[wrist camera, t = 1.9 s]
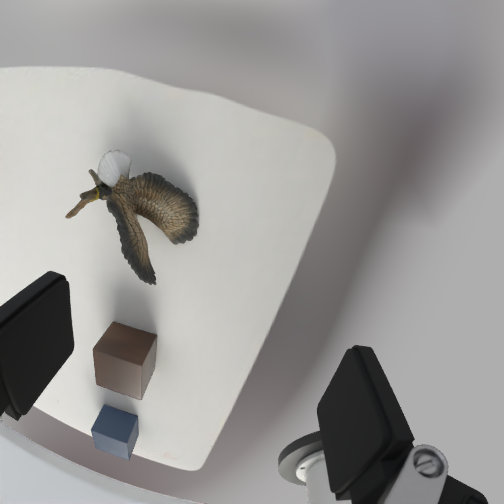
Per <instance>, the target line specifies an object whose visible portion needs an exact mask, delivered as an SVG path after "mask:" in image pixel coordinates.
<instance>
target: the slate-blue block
mask: <svg viewBox="0 0 504 504" xmlns="http://www.w3.org/2000/svg"><path fill="white" fill-rule="evenodd" d="M91 432H92V436H93V439H94V443H95V447H96V448H97V449H99V450H102V451H104V452H107V453H110V454H112V455H115V456H118V457H121V458H123V459H126V460H130V457H131V454H132V451H133V449H134V446H135V443H136V440H137V438H138V416H136V415H133V414H130V413H127V412H124V411H121V410H118V409H115V408H113V407H110V406H107V405H105V404H104V405H103V407H102V409H101V411H100V413H99V415H98V417H97V419H96V421H95V423H94V425H93V427H92V429H91Z"/></svg>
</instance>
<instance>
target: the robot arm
mask: <svg viewBox="0 0 504 504" xmlns="http://www.w3.org/2000/svg"><path fill="white" fill-rule="evenodd" d="M73 350H74V337H73V328H72V318H71V305H70V288H69V282H68V281H66V278H65V276H64V275H62V274H59V273H56V272H53V271H49V272H47V273H45V274H44V275H43V276H41V277H40V278H38V279H37V280H35V281H34V282H33V283H31V284H30V285H28V286H27V287H26V288H24V289H23V290H22V291H20V292H19V293H18V294H16V295H15V296H14V297H12V298H11V299H10V300H8V301H7V302H6V303H4V304H3V305H2V306H0V504H205V503H199V502H194V501H189V500H185V499H180V498H176V497H172V496H168V495H164V494H160V493H156V492H152V491H149V490H146V489H142V488H139V487H136V486H133V485H130V484H126V483H124V482H121V481H118V480H115V479H113V478H110V477H107V476H105V475H102V474H100V473H97V472H95V471H92V470H90V469H88V468H85V467H83V466H81V465H79V464H76V463H74V462H72V461H70V460H67V459H66V458H64V457H62V456H59V455H57V454H56V453H54V452H51V451H50V450H48V449H46V448H44V447H42V446H40V445H39V444H37V443H35V442H33V441H32V440H30V439H28V438H27V437H25V436H23V435H22V434H20V433H18V432H17V431H15V430H14V429H12V428H10V427H9V426H7V425H6V424H4V423H3V422H2V414H3V413H4V411H5V413H6V414H7V415H9V416H11V417H12V418H14V419H15V420H17V421H18V420H19V418H20V417H21V416H22V415H26V414H27V413H28V411H29V410H30V409H31V407H32V406H33V404H34V403H35V402H36V400H37V399H38V397H39V396H40V395H41V393H42V392H43V391H44V389H45V388H46V386H47V385H48V384H49V382H50V381H51V380H52V378H53V377H54V376H55V375H56V373H57V372H58V371H59V369H60V368H61V367H62V365H63V364H64V363H65V362H66V360H67V359H68V358H69V356H70V355H71V354H72V352H73ZM317 416H318V421H319V427H320V433H321V438H322V444H323V450H321V451H318V452H315V453H313V454H311V455H309V456H307V457H305V458H304V459H303V460H301V461H300V462H299V463H298V464H297V466H296V476H297V477H298V478H299V479H300V480H302V481H304V482H306V486H307V496H308V504H488V502H487V499H486V498H485V497H484V495H483V494H482V493H480V492H479V491H477V490H475V489H473V488H471V487H469V486H467V485H466V484H464V483H462V482H460V481H458V480H456V479H454V478H453V477H451V476H449V475H447V473H448V462H447V460H446V458H445V456H444V455H443V453H442V452H441V451H440V450H438V449H436V448H435V447H433V446H430V445H423V444H422V445H417V446H416V447H414V446H413V443H412V442H413V441H414V440H415V439H414V437H413V434H412V432H411V430H410V428H409V425H408V423H407V421H406V418H405V416H404V414H403V412H402V410H401V407H400V405H399V403H398V401H397V399H396V396H395V394H394V392H393V390H392V388H391V386H390V384H389V382H388V380H387V377H386V375H385V374H384V371H383V369H382V367H381V365H380V363H379V361H378V359H377V357H376V355H375V353H374V351H373V349H372V348H371V347H366V346H359V345H355V346H353V347H352V349H348V350H347V351H346V353H345V355H344V357H343V359H342V361H341V363H340V365H339V367H338V368H337V371H336V372H335V374H334V376H333V378H332V380H331V382H330V384H329V386H328V387H327V389H326V391H325V393H324V395H323V396H322V398H321V400H320V402H319V404H318V407H317Z"/></svg>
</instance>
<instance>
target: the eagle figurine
mask: <svg viewBox="0 0 504 504" xmlns="http://www.w3.org/2000/svg"><path fill="white" fill-rule="evenodd" d="M130 165H131V158H130V156H128V155H127V154H125V153H122V152H120V151H119V150H115V151H109V152H108V153H106V154H104V156H103V157H102V159H101V161H100V163H99V166H98V175H97V174H96V173H95V172H94V171H93V170H92V169H90V170H89V173H90V174H91V175H92V177H93V179H94V181H95V185H97V186H96V187H95V188H94V189H92V190H90V191H87V192H84V193H82V194H80V198H81V201H80V202H79V203H78V204H77V205H76V207H75V208H74V209H72V210H71V211H70V212H69V213H68V214H67V215H66V218H71V217H73V216H75V215H76V214H77V213H78V212H79V211H80V210H81V209H82V208H84V206H85V205H86V204H87V203H89V202H93V201H94V200H97V199H101V200H107V201H106V202H107V207H108V211H109V212H110V213H112V214H113V216H114V217H115V218H116V222H117V224H118V225H117V230H118V231H119V235H120V241H121V243H122V247H121V250H122V253H123V254H124V258H125V259H126V260H127V259H128V264H130V265H131V268H132V269H133V270H134V272H135V273H136V274H137V275H138V277H139V278H140V280H143V281H144V282H145V283H149V284H150V285H152V284H154V285H156V282H155V281H156V277H155V275H154V274H155V272H154V270H153V268H152V265H151V263H150V259H149V256H148V245H147V241H146V238H145V236H144V233H143V231H142V229H141V227H140V224H139V222H138V221H137V217H136V214H138V215H141V216H143V217H145V218H147V219H149V220H150V221H151V222H153V223H154V224H155V225H156V226H157V227H158V228H160V229H161V230H162V231H163V232H164V233H165V235H166V236H167V237H168V238H169V240H170V241H171V242H172V243H173V244H175V245H177V244H178V243H185V242H186V240H188V241H191V240H192V239H193V236H196V235H197V232H196V228H198V226H199V225H198V222H197V221H196V218H198V214H197V213H196V211H197V207H196V205H195V203H194V202H193V199H192V198H191V197H189V195H188V194H187V193H183V191H182V190H180V189H179V188H175V187H174V185H172V184H171V183H170V182H167V181H165V178H163V177H162V176H161V175H158V174H152V173H151V172H149V173H144V174H143V175H139V176H138V177H137V178H135V177H133V178H132V179H129V172H130Z"/></svg>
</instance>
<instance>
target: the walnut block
mask: <svg viewBox="0 0 504 504" xmlns="http://www.w3.org/2000/svg"><path fill="white" fill-rule="evenodd" d="M156 344H157V335H155V334H152V333H148V332H145V331H142V330H138V329H135V328H132V327H129V326H126V325H123V324H119V323H116V322H112V324H111V325H110V326H109V328H108V329H107V330H106V332H105V333H104V334H103V336H102V337H101V338H100V340H99V341H98V342H97V344H96V345H95V346H94V348H93V358H94V368H95V377H96V384H97V385H99V386H102V387H104V388H107V389H110V390H112V391H115V392H118V393H121V394H124V395H126V396H129V397H132V398H135V399H138V400H142V398H143V395H144V393H145V391H146V388H147V386H148V383H149V381H150V379H151V376H152V374H153V372H154V370H155V356H156Z"/></svg>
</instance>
